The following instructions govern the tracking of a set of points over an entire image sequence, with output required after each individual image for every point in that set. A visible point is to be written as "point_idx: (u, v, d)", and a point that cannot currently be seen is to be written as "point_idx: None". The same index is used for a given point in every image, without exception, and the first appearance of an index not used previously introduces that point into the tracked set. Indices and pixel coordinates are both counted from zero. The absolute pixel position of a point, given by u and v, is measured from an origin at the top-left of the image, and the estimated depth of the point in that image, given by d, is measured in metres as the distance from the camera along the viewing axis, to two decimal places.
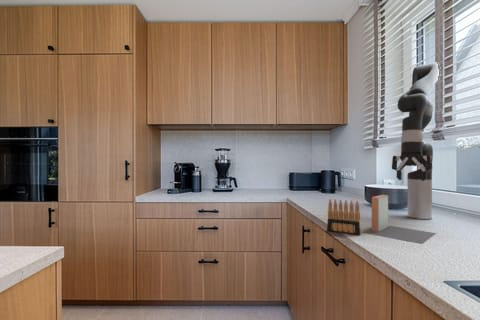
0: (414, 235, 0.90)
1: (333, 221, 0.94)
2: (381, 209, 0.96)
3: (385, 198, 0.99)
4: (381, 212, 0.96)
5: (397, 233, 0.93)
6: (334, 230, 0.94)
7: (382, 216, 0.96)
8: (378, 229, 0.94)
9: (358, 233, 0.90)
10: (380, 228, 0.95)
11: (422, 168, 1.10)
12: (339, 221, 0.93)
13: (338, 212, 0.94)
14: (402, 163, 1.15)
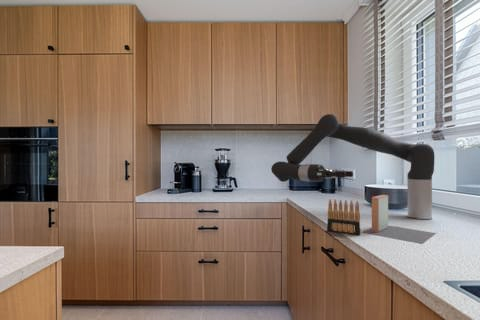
0: (414, 235, 0.90)
1: (333, 221, 0.94)
2: (381, 209, 0.96)
3: (385, 198, 0.99)
4: (381, 212, 0.96)
5: (397, 233, 0.93)
6: (334, 230, 0.94)
7: (382, 216, 0.96)
8: (378, 229, 0.94)
9: (358, 233, 0.90)
10: (380, 228, 0.95)
11: (332, 177, 1.08)
12: (339, 221, 0.93)
13: (338, 212, 0.94)
14: (334, 177, 1.13)
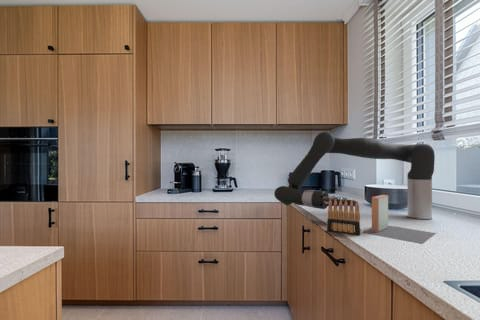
0: (414, 235, 0.90)
1: (333, 221, 0.94)
2: (381, 209, 0.96)
3: (385, 198, 0.99)
4: (381, 212, 0.96)
5: (397, 233, 0.93)
6: (334, 230, 0.94)
7: (382, 216, 0.96)
8: (378, 229, 0.94)
9: (358, 233, 0.90)
10: (380, 228, 0.95)
11: None
12: (339, 221, 0.93)
13: (338, 212, 0.94)
14: None
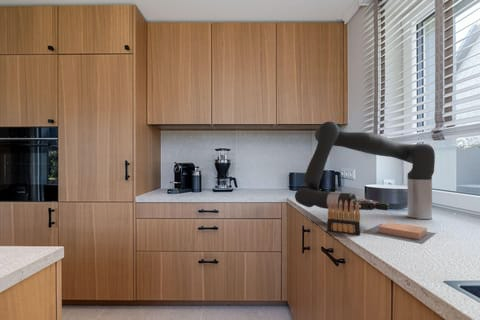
0: None
1: (333, 221, 0.94)
2: None
3: None
4: None
5: None
6: (334, 230, 0.94)
7: None
8: (382, 232, 0.93)
9: (358, 233, 0.90)
10: None
11: None
12: (339, 221, 0.93)
13: (338, 212, 0.94)
14: None
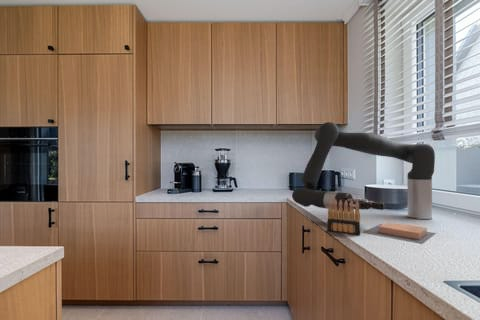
0: None
1: (333, 221, 0.94)
2: None
3: None
4: None
5: None
6: (334, 230, 0.94)
7: None
8: (382, 232, 0.93)
9: (358, 233, 0.90)
10: None
11: None
12: (339, 221, 0.93)
13: (338, 212, 0.94)
14: None
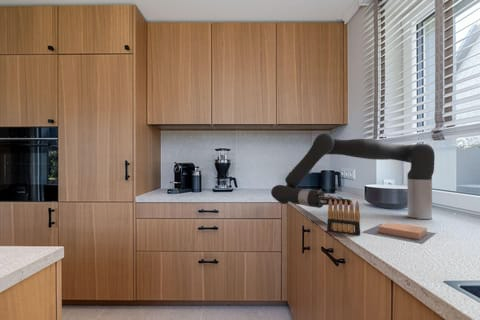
0: None
1: (333, 221, 0.94)
2: None
3: None
4: None
5: None
6: (334, 230, 0.94)
7: None
8: (382, 232, 0.93)
9: (358, 233, 0.90)
10: None
11: None
12: (339, 221, 0.93)
13: (338, 212, 0.94)
14: None
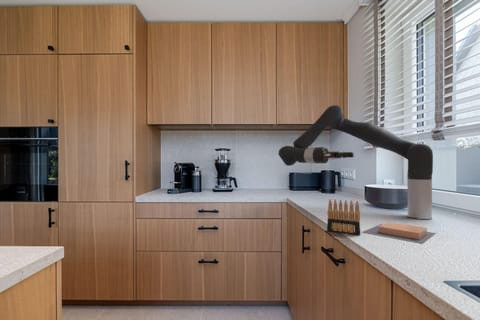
0: None
1: (333, 221, 0.94)
2: None
3: None
4: None
5: None
6: (334, 230, 0.94)
7: None
8: (382, 232, 0.93)
9: (358, 233, 0.90)
10: None
11: (340, 157, 1.18)
12: (339, 221, 0.93)
13: (338, 212, 0.94)
14: (337, 158, 1.21)
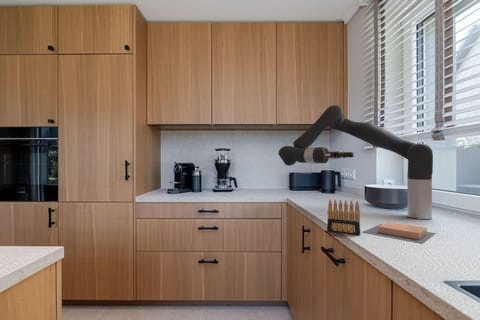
0: None
1: (333, 221, 0.94)
2: None
3: None
4: None
5: None
6: (334, 230, 0.94)
7: None
8: (382, 232, 0.93)
9: (358, 233, 0.90)
10: None
11: (340, 157, 1.18)
12: (339, 221, 0.93)
13: (338, 212, 0.94)
14: (337, 158, 1.21)
